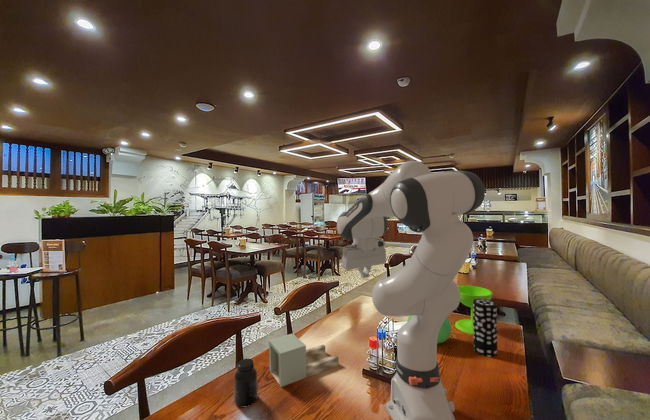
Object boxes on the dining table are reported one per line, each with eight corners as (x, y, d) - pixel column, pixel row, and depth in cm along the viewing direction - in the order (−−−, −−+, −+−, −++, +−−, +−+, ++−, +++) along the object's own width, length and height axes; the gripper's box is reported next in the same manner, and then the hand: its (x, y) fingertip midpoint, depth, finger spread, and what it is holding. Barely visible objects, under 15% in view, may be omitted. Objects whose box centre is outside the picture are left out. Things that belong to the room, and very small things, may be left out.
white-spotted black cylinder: (470, 345, 116) (470, 298, 116) (492, 347, 115) (492, 299, 114) (477, 356, 108) (476, 305, 108) (501, 358, 106) (500, 306, 106)
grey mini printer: (323, 353, 113) (323, 344, 113) (338, 366, 103) (338, 356, 103) (269, 372, 101) (269, 362, 101) (281, 388, 92) (280, 378, 91)
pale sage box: (293, 362, 106) (292, 333, 106) (306, 377, 96) (305, 345, 96) (269, 370, 101) (268, 340, 101) (281, 387, 92) (280, 353, 91)
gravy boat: (408, 348, 115) (407, 313, 115) (406, 330, 131) (405, 299, 131) (455, 353, 111) (454, 316, 110) (447, 333, 127) (446, 302, 127)
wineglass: (455, 318, 143) (455, 284, 143) (491, 324, 136) (491, 287, 135) (454, 331, 129) (453, 293, 129) (494, 338, 122) (493, 298, 121)
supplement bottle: (230, 404, 85) (229, 366, 84) (244, 390, 91) (243, 354, 91) (248, 410, 82) (247, 370, 82) (261, 395, 88) (260, 358, 88)
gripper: (347, 246, 103) (348, 283, 103) (388, 241, 113) (388, 275, 113) (338, 244, 108) (339, 279, 108) (377, 240, 118) (378, 272, 119)
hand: (364, 277), depth 111 cm, fingers closed
